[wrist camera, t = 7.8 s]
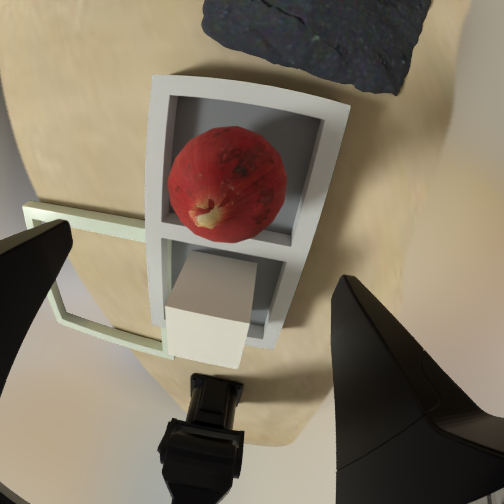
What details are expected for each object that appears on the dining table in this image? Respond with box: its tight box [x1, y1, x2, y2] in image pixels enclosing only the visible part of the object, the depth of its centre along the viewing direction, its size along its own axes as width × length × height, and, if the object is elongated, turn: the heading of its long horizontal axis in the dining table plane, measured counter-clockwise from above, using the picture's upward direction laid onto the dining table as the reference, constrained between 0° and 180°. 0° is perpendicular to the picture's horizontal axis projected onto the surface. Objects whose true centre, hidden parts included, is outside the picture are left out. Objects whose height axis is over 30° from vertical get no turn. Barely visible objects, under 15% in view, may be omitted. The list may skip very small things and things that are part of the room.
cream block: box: [165, 250, 257, 369], centre depth 20 cm, size 5×5×6 cm
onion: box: [167, 126, 287, 243], centre depth 14 cm, size 6×6×8 cm
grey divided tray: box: [145, 75, 351, 350], centre depth 19 cm, size 20×11×2 cm, turn 170°
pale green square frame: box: [22, 201, 175, 360], centre depth 25 cm, size 16×16×1 cm
